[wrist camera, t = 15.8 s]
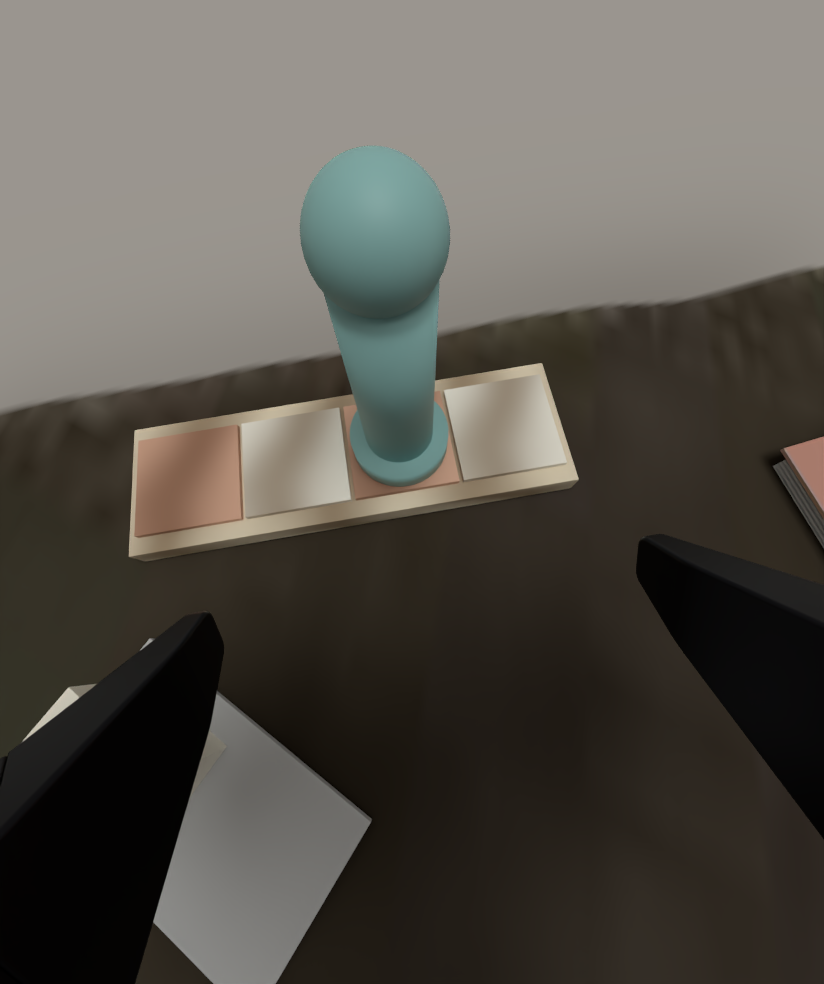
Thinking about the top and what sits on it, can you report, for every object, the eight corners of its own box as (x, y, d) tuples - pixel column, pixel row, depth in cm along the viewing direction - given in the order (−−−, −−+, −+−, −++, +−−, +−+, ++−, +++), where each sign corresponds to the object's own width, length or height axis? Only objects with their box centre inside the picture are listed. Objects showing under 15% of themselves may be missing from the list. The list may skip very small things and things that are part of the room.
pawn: (466, 447, 20) (529, 169, 8) (393, 505, 20) (346, 293, 8) (406, 385, 22) (383, 60, 9) (334, 438, 21) (210, 158, 9)
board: (536, 376, 23) (543, 359, 22) (570, 488, 21) (580, 477, 20) (149, 440, 23) (130, 427, 21) (145, 561, 21) (124, 555, 19)
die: (230, 745, 18) (166, 777, 13) (149, 858, 17) (50, 933, 12) (151, 675, 19) (68, 684, 14) (69, 777, 18) (-48, 820, 13)
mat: (371, 819, 17) (371, 822, 17) (255, 1016, 15) (252, 1023, 15) (153, 638, 20) (149, 638, 19) (32, 789, 18) (25, 791, 18)
